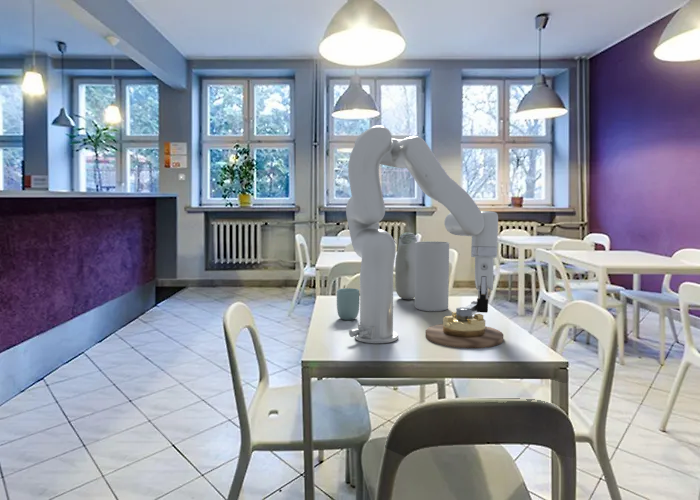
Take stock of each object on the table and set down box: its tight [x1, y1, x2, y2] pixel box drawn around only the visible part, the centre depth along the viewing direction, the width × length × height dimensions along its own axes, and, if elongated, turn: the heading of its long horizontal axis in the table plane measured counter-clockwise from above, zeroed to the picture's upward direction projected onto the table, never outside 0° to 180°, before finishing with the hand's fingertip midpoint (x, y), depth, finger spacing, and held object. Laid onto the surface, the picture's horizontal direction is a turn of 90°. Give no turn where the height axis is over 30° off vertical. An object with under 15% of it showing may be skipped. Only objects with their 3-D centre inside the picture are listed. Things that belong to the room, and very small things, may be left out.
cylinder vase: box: [414, 241, 450, 312], centre depth 177 cm, size 12×12×25 cm
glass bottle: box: [394, 231, 418, 300], centre depth 196 cm, size 10×10×28 cm
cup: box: [336, 287, 360, 321], centre depth 161 cm, size 8×8×10 cm
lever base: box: [425, 323, 504, 349], centre depth 137 cm, size 22×22×2 cm
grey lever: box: [442, 300, 486, 337], centre depth 140 cm, size 20×12×7 cm, turn 150°
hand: (482, 311), depth 144 cm, fingers closed
